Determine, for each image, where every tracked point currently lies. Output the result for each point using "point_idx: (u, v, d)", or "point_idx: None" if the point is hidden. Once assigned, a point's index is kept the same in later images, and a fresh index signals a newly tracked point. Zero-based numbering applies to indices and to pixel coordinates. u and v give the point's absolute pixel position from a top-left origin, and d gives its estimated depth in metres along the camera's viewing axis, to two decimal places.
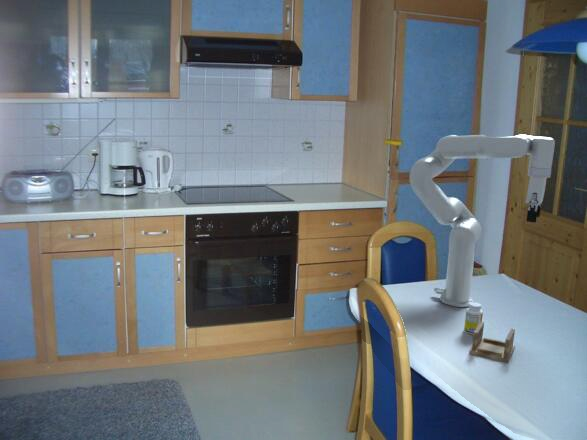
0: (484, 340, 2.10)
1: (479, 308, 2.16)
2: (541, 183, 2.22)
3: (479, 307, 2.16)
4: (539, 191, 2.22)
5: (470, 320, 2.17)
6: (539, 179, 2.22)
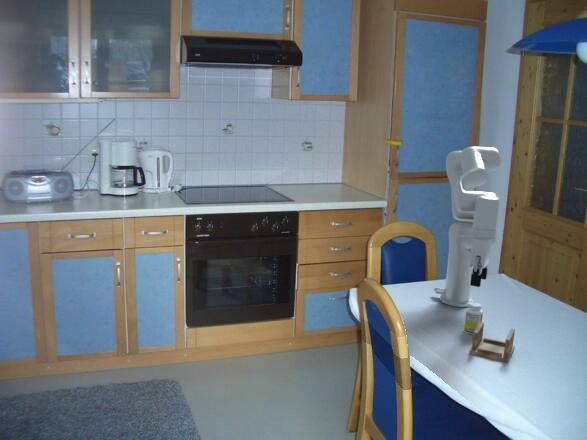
0: (484, 340, 2.10)
1: (479, 308, 2.16)
2: (485, 246, 2.08)
3: (479, 307, 2.16)
4: (483, 254, 2.08)
5: (470, 320, 2.17)
6: (482, 241, 2.08)
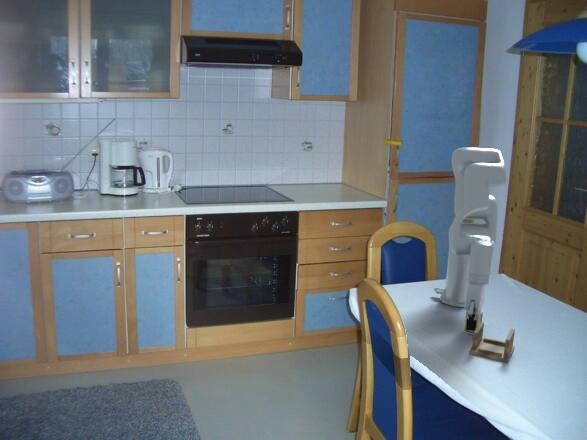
0: (484, 340, 2.10)
1: None
2: (479, 290, 2.12)
3: None
4: (478, 299, 2.12)
5: None
6: (477, 286, 2.12)
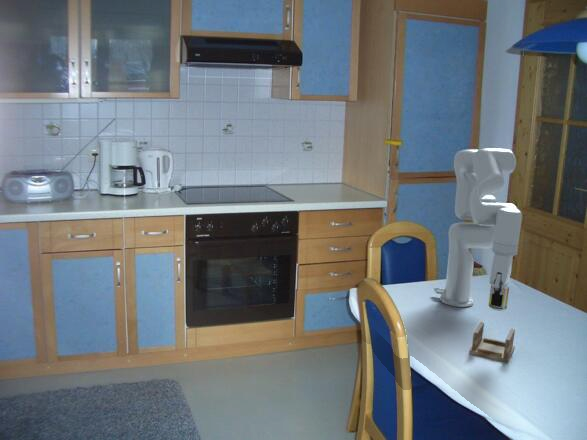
0: (484, 340, 2.10)
1: None
2: (506, 262, 1.94)
3: None
4: (504, 271, 1.94)
5: None
6: (503, 257, 1.94)
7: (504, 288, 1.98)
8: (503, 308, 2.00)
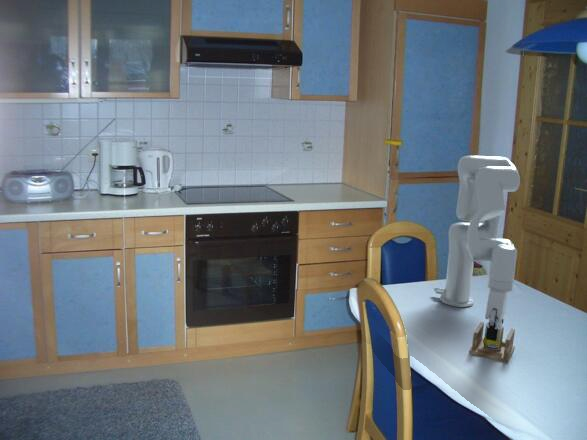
0: None
1: (500, 322, 2.02)
2: (502, 298, 1.96)
3: (500, 321, 2.02)
4: (500, 307, 1.97)
5: None
6: (499, 294, 1.97)
7: (499, 329, 2.01)
8: (498, 348, 2.03)
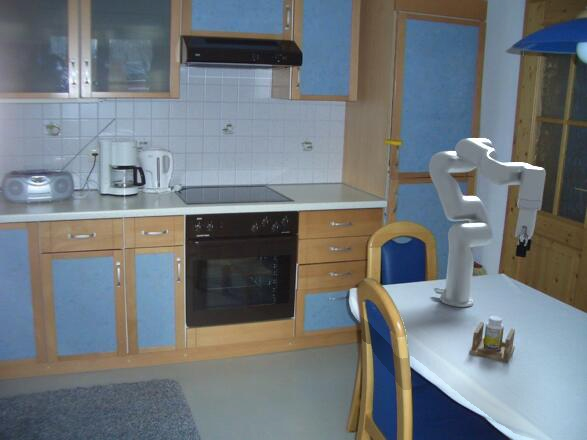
0: None
1: (500, 322, 2.02)
2: (531, 216, 2.08)
3: (500, 321, 2.02)
4: (529, 225, 2.08)
5: (491, 336, 2.02)
6: (528, 212, 2.08)
7: (498, 329, 2.01)
8: (498, 348, 2.03)
